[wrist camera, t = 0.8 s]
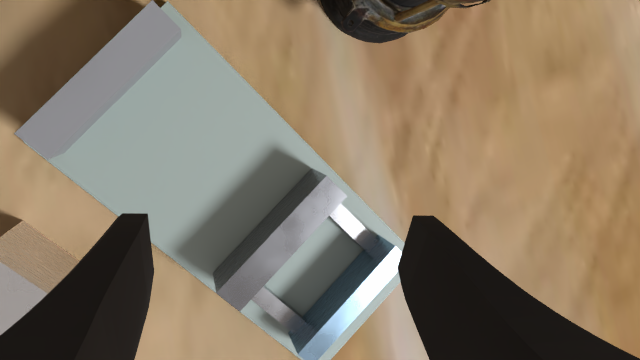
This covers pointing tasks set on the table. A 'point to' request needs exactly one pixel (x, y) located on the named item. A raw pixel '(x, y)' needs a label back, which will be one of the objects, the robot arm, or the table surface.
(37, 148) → the vise
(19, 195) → the table surface
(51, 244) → the steel block
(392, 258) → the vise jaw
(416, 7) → the lantern
